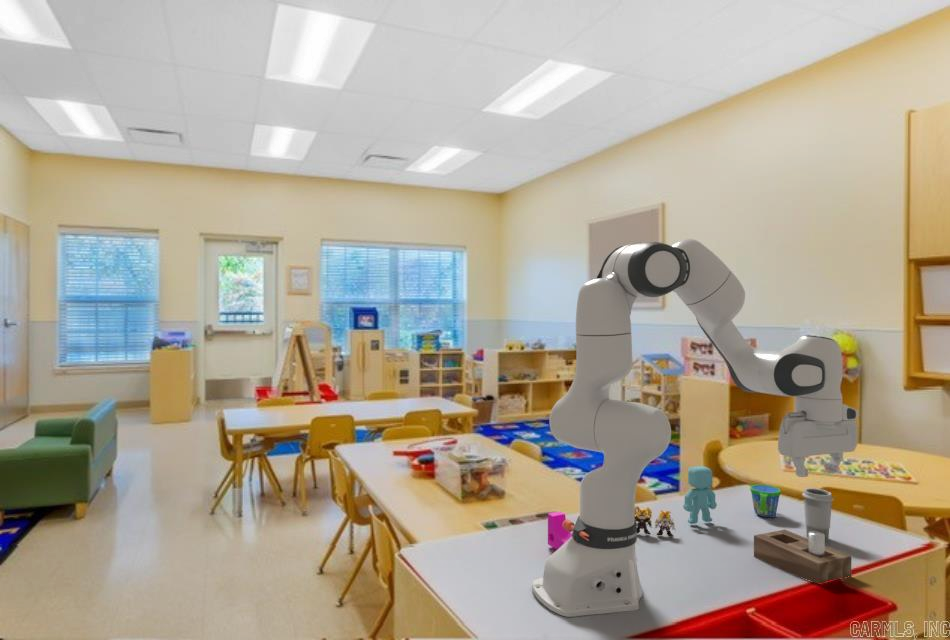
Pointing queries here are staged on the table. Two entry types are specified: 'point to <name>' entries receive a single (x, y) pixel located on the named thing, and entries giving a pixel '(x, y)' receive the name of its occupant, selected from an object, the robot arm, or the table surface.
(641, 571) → the table surface
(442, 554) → the table surface
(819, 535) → the peg
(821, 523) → the cup
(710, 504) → the toy
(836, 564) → the hole block
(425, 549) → the table surface
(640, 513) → the figurine set
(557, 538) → the toy block
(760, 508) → the snack cup
